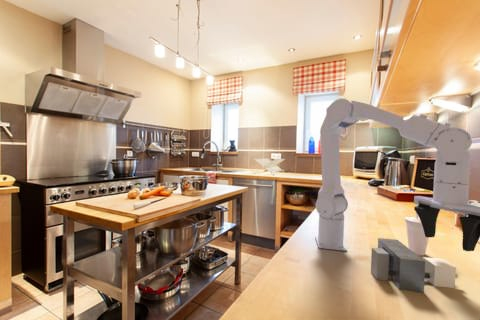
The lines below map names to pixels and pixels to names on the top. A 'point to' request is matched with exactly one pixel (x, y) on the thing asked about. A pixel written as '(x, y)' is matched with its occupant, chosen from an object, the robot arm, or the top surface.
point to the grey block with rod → (435, 269)
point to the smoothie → (416, 235)
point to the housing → (404, 265)
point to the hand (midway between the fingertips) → (447, 243)
